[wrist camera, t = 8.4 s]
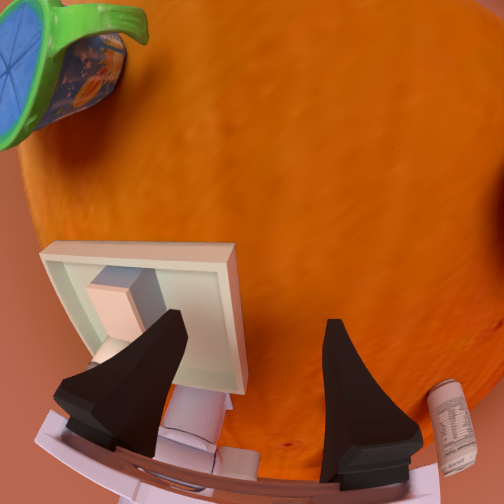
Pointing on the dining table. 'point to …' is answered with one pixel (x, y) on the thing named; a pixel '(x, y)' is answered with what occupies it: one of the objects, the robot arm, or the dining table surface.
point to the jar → (107, 350)
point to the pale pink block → (126, 300)
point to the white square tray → (165, 300)
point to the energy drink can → (451, 427)
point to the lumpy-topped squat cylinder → (239, 463)
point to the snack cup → (59, 60)
